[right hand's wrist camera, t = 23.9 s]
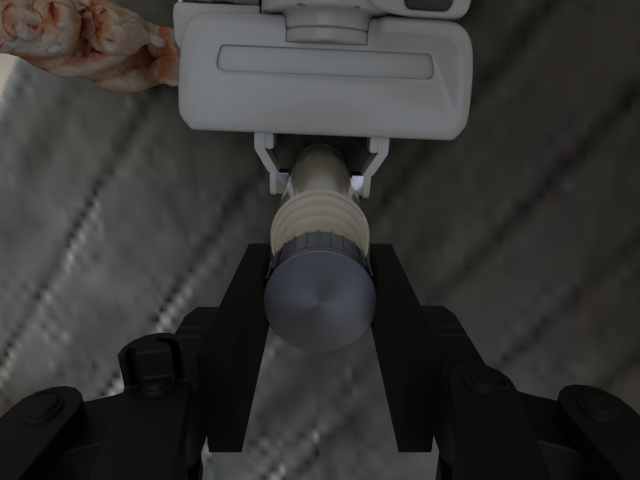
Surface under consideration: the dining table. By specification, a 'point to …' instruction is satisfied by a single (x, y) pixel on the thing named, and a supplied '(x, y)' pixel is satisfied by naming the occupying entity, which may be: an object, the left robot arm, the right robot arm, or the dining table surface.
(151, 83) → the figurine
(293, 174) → the bottle
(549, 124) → the dining table surface
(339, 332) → the cap
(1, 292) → the dining table surface
